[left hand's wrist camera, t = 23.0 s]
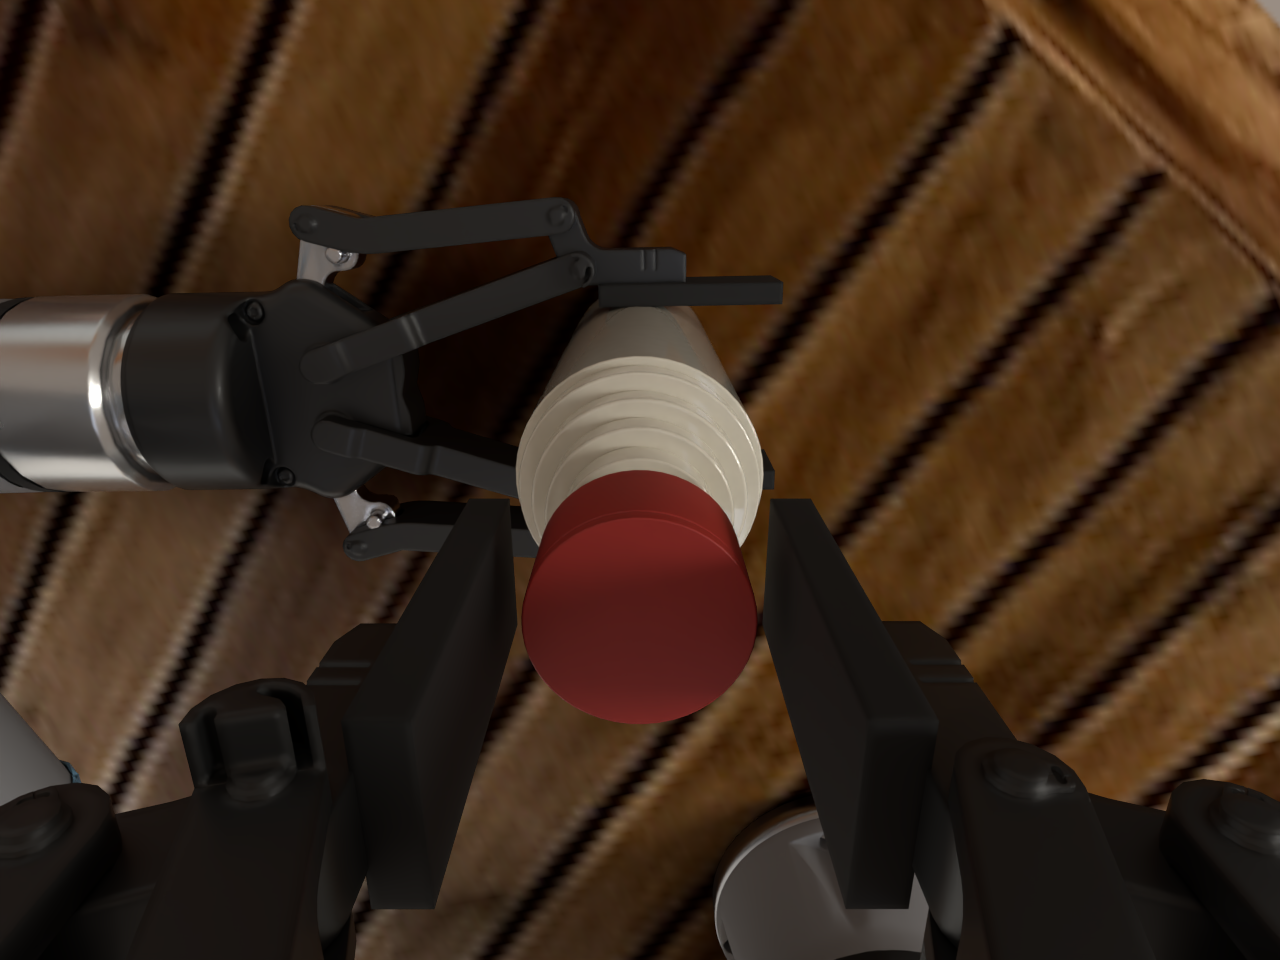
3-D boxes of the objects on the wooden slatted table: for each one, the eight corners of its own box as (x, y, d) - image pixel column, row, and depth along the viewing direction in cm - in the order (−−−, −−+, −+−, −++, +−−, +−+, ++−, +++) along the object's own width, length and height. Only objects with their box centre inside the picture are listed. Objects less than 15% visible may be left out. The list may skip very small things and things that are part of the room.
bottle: (732, 325, 35) (893, 537, 13) (667, 441, 37) (708, 802, 15) (609, 259, 34) (553, 364, 12) (549, 382, 36) (402, 673, 14)
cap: (696, 673, 16) (706, 750, 13) (514, 616, 15) (493, 686, 13) (771, 507, 14) (795, 562, 12) (575, 440, 14) (563, 485, 12)
